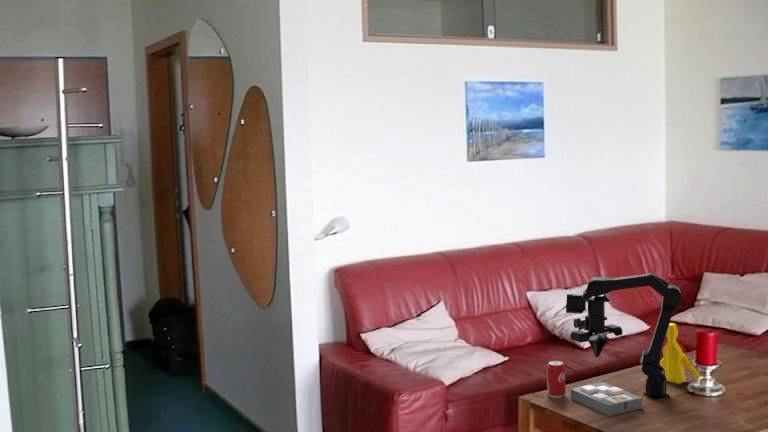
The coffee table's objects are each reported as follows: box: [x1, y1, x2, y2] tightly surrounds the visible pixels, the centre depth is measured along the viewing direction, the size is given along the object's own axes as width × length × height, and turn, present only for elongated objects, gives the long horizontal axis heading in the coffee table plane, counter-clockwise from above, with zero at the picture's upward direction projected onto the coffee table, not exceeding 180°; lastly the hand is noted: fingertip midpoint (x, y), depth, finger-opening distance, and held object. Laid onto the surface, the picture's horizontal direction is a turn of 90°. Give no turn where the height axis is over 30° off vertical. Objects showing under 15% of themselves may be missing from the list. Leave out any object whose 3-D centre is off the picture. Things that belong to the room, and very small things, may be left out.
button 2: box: [592, 393, 609, 399], centre depth 281 cm, size 4×4×2 cm
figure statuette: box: [660, 322, 701, 385], centre depth 301 cm, size 18×8×22 cm, turn 40°
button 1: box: [580, 384, 598, 394], centre depth 286 cm, size 4×4×2 cm
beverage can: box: [546, 360, 566, 399], centre depth 292 cm, size 6×6×12 cm
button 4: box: [606, 386, 624, 396], centre depth 283 cm, size 4×4×2 cm
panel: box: [570, 381, 643, 417], centre depth 283 cm, size 14×20×4 cm
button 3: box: [596, 385, 609, 391], centre depth 289 cm, size 4×4×2 cm
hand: (596, 357), depth 293 cm, fingers closed
